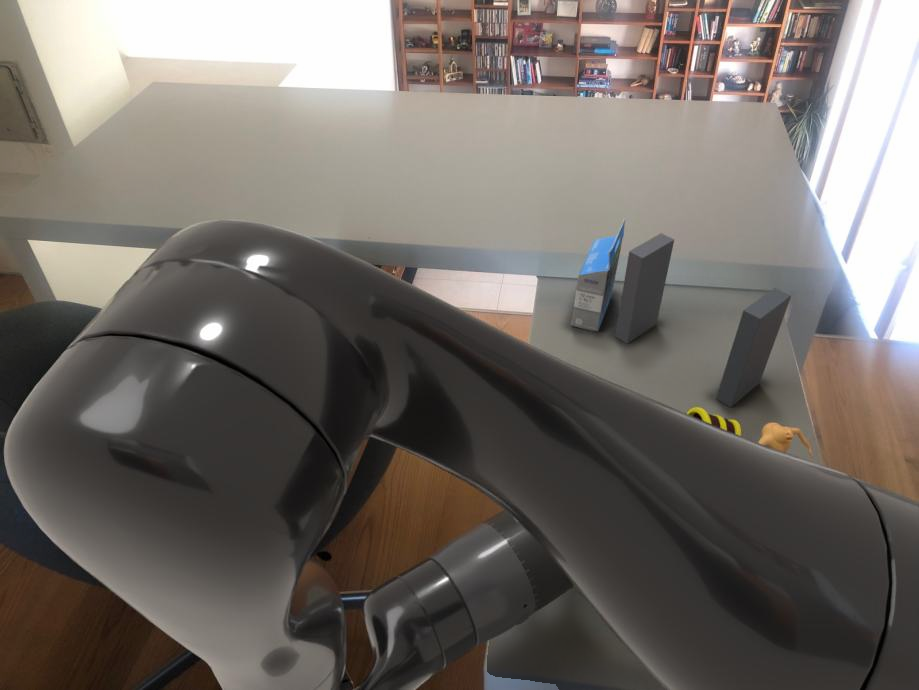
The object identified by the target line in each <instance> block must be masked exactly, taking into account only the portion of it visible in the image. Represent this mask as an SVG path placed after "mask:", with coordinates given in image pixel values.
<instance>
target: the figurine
mask: <svg viewBox="0 0 919 690" xmlns="http://www.w3.org/2000/svg"><path fill="white" fill-rule="evenodd" d="M795 435H797V437H798V438H799V440H800V442H801V444H803V445H804V447H806V448H807V450H808V452H809V456H810V458H811V459H813V452H812V448H811V445H810V443H809V441H808V439H807V438H806V437H805V436H804V434H803V432H802V430H801V429H800V428H798V427H789V426H782V425H780V424H779V423H778V422H768V423H766V424H765V425H764V426H763V428H762V430H761V437H760V439H759V440H758V442H757V443H760V444H763V445H766V446H768V447H771V448H774V449H777V450H779V451H782V452H785V453H787V451H788V450H789V449H790V446H791V443H792V442H793V441H794V436H795Z"/></svg>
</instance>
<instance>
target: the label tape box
mask: <svg viewBox="0 0 919 690" xmlns="http://www.w3.org/2000/svg"><path fill="white" fill-rule="evenodd" d="M625 224H626V218H625V217H623V220H622V223H621V226H620V227H619V230H618V233H617V235H613V236H608V237H600V238H595V239H594V240H593V242H592V244H591V246H590V249H589V251H588V254H587V255H586V258H585V260H584V262H583V265H582V267H581V269H580V271H579V274H578V275H577V283H576V288H575V296H574V302H573V309H572V316H571V323H570V325H571V326H572V327H576V328H580V329H582V330H587V331H592V332H599V330H600V328H601V325H602V323H603V320H604V317H605V314H606V312H607V309H608V306H609V304H610V300H611V297H612V294H613V290H614V285H615V280H616V275H617V270H618V265H619V259H620V255H621V251H622V250H621V249H622V244H623V240H624V239H623V238H624V236H625Z"/></svg>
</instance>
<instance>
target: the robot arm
mask: <svg viewBox="0 0 919 690" xmlns="http://www.w3.org/2000/svg"><path fill="white" fill-rule="evenodd" d="M370 438H372V439H375V440H377V441H380V442H383V443H386V444H388V445H391V446H393V447H395V448H398V449H399V450H402V451H405V452H407V453H409V454H411V455H413V456H415V457H418V458H420V459H422V460H424V461H426V462H427V463H429V464H431V465H433V466H434V467H436V468H439V469H440V470H442V471H444V472H446V473H448V474H449V475H452V476H453V477H456V478H457V479H460V480H461V481H463V482H465V483H467V484H468V485H469V486H471V487H472V488H474V489H476V490H477V491H478V492H480V493H482V494H483V495H485V496H486V497H488V498H489V499H490V500H492V502H494V503H495V504H496V505H498V506H499V507H500V508H502V509H503V510H501V511H499V512H498V513H495V514H494V515H492V516H490V517H489V518H487V519H486V520H484V521H483V520H482V522H480V523H478V524H477V525H475V526H472V528H471V527H470V529H468V530H466V531H463V533H461V534H459V535H458V536H456V537H454V538H452V539H451V540H449V541H448V542H447V543H445V544H444V545H443V546H441V547H440V548H439V549H437V551H435V552H434V553H432V554H431V555H429V556H428V557H427V558H425V559H423V560H421V561H419V562H417V563H416V564H414V565H413V566H411V567H409V568H407V569H406V570H404V571H402V572H401V573H399V574H397V575H395V576H393V577H391V578H389V579H388V580H386V581H384V582H382V583H381V584H379V585H378V586H376V587H375V588H373V589H372V590H371V591H369V593H368V594H367V595H366V596H365V598H364V599H363V603H362V617H363V621H364V626H365V629H366V634H367V636H368V639H369V643H370V646H371V650H372V654H373V655H372V656H373V664H372V666H371V669H370V671H369V672H368V674H367V676H365V678H364V679H363V680H362V681H361V682H360V683H359V684H357V685H356V686H355V684H354V682H353V680H352V677H351V676H350V674H349V672H348V670H347V668H346V667H347V660H348V638H347V637H348V636H347V622H346V613H345V606H344V602H343V598H342V596H341V592H340V590H339V588H338V586H337V584H336V582H335V581H334V579H333V577H332V576H331V574H330V572H328V571H327V570H326V569H325V567H324V566H323V565H322V564H321V563H319V562H318V561H316V559H314V558H313V557H311V556H312V555H313V553H314V551H315V550H316V548H317V547H318V545H319V544H320V542H321V541H322V539H323V538H324V537H325V536H326V534H327V532H328V531H329V529H330V527H331V526H332V524H333V522H334V520H335V518H336V517H337V514H338V512H339V510H340V508H341V506H342V505H341V504H342V502H343V500H344V498H345V495H346V493H347V491H348V489H349V486H350V485H351V483H352V480H353V478H354V475H355V472H356V470H357V468H358V465H359V463H360V461H361V458H362V456H363V454H364V451H365V449H366V447H367V444H368V442H369V440H370ZM3 457H4V459H3V461H4V465H5V470H6V473H7V477H8V480H9V483H10V485H11V487H12V489H13V490H14V493H15V494H16V496H17V498H18V500H19V501H20V503H21V505H22V507H23V508H24V509H25V511H26V512H27V513H28V515H29V516H30V517H31V519H32V520H33V521H34V522H35V524H36V525H37V526H38V528H39V529H40V530H41V531H42V532H43V533H44V534H45V535H46V536H47V537H48V538H49V539H50V540H51V542H52V543H54V544H55V546H56V547H57V548H59V549H60V550H61V551H62V552H63V553H64V554H65V555H66V556H67V557H68V558H69V559H70V560H72V561H73V562H74V563H75V564H77V565H78V566H79V567H81V568H82V569H83V570H84V571H85V572H87V573H88V574H89V575H91V576H92V577H93V578H94V579H96V580H97V581H98V582H99V583H101V584H102V585H103V586H104V587H105V588H107V589H108V590H109V591H110V592H112V593H113V594H114V595H115V596H117V597H118V598H119V599H121V600H122V601H123V602H124V603H126V605H128V606H130V608H132V609H133V610H134V611H136V612H137V613H138V614H140V615H141V617H143V618H145V619H146V620H147V621H148V622H149V623H151V624H153V625H154V626H155V627H157V628H158V629H160V630H161V631H162V632H163V633H165V635H167V636H168V637H170V638H171V639H172V640H174V641H175V642H177V643H178V644H180V645H181V646H182V647H184V648H185V649H187V650H188V651H189V652H191V653H192V654H194V655H195V656H197V657H198V658H200V659H201V660H202V661H203V662H205V664H207V665H208V666H209V667H210V669H211V671H212V673H213V675H214V677H215V678H216V681H217V682H218V684H219V685H220V687H221V689H222V690H417V689H418V688H419V687H420V686H421V685H422V684H424V683H425V682H427V681H428V680H429V679H431V678H432V677H433V676H435V675H436V674H437V673H439V672H441V671H442V670H443V669H445V668H447V667H448V666H449V665H452V663H454V662H456V661H457V660H458V659H460V658H461V657H464V655H467V654H468V653H470V652H471V651H473V650H474V649H475V648H477V647H478V646H481V645H482V644H485V643H486V642H488V641H490V640H493V639H495V638H497V637H499V636H501V635H503V634H505V633H506V632H508V631H509V630H511V629H513V628H514V627H516V626H518V625H522V624H523V623H525V622H526V621H527V620H528V619H529V618H530V617H531V616H532V615H534V614H535V613H538V612H539V611H540V610H541V609H542V608H544V607H546V606H548V605H549V604H550V603H552V602H553V601H555V600H557V599H558V598H559V597H561V596H562V595H564V594H565V593H567V592H568V591H570V590H572V589H573V588H575V589H576V590H577V591H578V592H579V594H580V595H581V596H582V597H583V598H584V600H585V601H586V602H587V603H588V604H589V605H590V607H591V608H592V609H593V610H594V611H595V613H597V615H598V616H599V618H601V620H602V621H603V622H604V623H605V624H606V625H607V627H608V628H609V629H610V630H611V632H612V633H613V634H614V635H615V636H616V638H617V639H618V640H619V641H620V642H621V643H622V645H624V647H625V648H626V649H627V651H629V653H631V655H632V656H633V657H634V658H635V659H636V660H637V661H638V662H639V664H640V665H641V666H642V667H643V668H644V669H645V670H646V671H647V672H648V673H649V675H651V677H653V678H654V680H655V681H657V682H658V684H659V685H661V687H663V688H664V689H665V690H919V501H917V500H915V499H912V498H910V497H907V496H904V495H902V494H900V493H897V492H894V491H892V490H889V489H886V488H884V487H881V486H879V485H877V484H874V483H871V482H868V481H866V480H863V479H861V478H858V477H856V476H854V475H850V474H848V473H845V472H843V471H841V470H838V469H835V468H832V467H829V466H826V465H824V464H820V463H817V462H814V461H811V460H808V459H806V458H803V457H799V456H797V455H793V454H791V453H787V452H782V451H779V450H777V449H774V448H771V447H768V446H766V445H763V444H760V443H758V442H757V441H756V440H752V439H750V438H747V437H744V436H742V435H741V436H740V435H737V434H734V433H732V432H729V431H727V430H724V429H722V428H719V427H717V426H714V425H712V424H710V423H707V422H705V421H703V420H700V419H698V418H695V417H693V416H691V415H688V414H687V412H683V411H681V410H678V409H676V408H674V407H672V406H669V405H667V404H665V403H663V402H660V401H657V400H655V399H653V398H650V397H648V396H645V395H644V394H641V393H638V392H636V391H633V390H631V389H630V388H626V387H624V386H621V385H619V384H616V383H614V382H612V381H609V380H607V379H605V378H602V377H600V376H599V375H596V374H594V373H591V372H589V371H587V370H585V369H582V368H580V367H578V366H575V365H574V364H571V363H569V362H567V361H565V360H563V359H561V358H558V357H556V356H555V355H552V354H551V353H548V352H546V351H544V350H542V349H539V348H538V347H536V346H535V345H531V344H529V343H528V342H526V341H524V340H522V339H520V338H517V337H516V336H514V335H512V334H510V333H508V332H506V331H503V330H502V329H499V328H498V327H496V326H494V325H492V324H490V323H488V322H485V321H484V320H483V319H480V318H478V317H476V316H474V315H472V314H471V313H468V312H466V311H465V310H462V309H460V308H459V307H456V306H455V305H453V304H451V303H449V302H447V301H445V300H443V299H441V298H439V297H438V296H435V295H433V294H431V293H430V292H427V291H426V290H424V289H422V288H420V287H417V286H415V285H414V284H412V283H410V282H407V281H406V280H404V279H403V278H402V279H401V278H400V277H397V276H395V275H393V274H392V273H390V272H387V271H386V270H384V269H382V268H379V267H378V266H375V265H373V264H372V263H369V262H368V261H366V260H364V259H361V258H359V257H357V256H355V255H352V254H350V253H347V252H345V251H343V250H341V249H339V248H337V247H334V246H332V245H330V244H328V243H326V242H323V241H321V240H318V239H316V238H313V237H311V236H308V235H305V234H302V233H300V232H296V231H294V230H292V229H287V228H284V227H281V226H277V225H272V224H269V223H263V222H259V221H258V222H257V221H252V220H247V219H240V218H224V219H209V220H203V221H200V222H197V223H193V224H191V225H187V226H186V227H184V228H182V229H180V230H179V231H176V233H174V234H173V235H171V236H170V237H169V238H167V239H166V240H165V241H164V242H162V243H161V244H160V245H159V246H157V248H156V249H155V250H154V251H153V252H152V253H151V254H149V256H148V257H147V258H146V259H145V260H144V261H143V262H142V264H140V266H139V267H138V268H137V269H136V270H135V272H133V274H132V275H131V276H130V278H128V279H127V280H126V281H125V282H124V283H123V284H122V285H121V286H120V287H119V289H117V291H116V292H115V293H114V294H113V295H112V296H111V298H110V299H108V301H107V302H106V303H105V305H104V306H102V307H101V309H100V310H99V311H98V312H97V313H96V315H95V316H94V317H93V318H92V319H91V320H90V321H89V322H88V324H87V325H86V326H85V327H84V328H83V329H82V331H81V332H80V333H79V334H78V335H77V336H76V337H75V338H74V340H73V341H72V342H71V343H70V344H69V345H68V346H67V347H66V349H65V350H64V351H63V352H62V353H61V354H60V356H59V357H58V358H57V360H56V361H55V362H54V363H53V364H52V365H51V367H50V368H49V369H48V370H47V371H46V373H45V374H44V375H43V376H42V377H41V378H40V380H39V381H38V382H37V383H36V385H34V387H33V389H32V390H31V392H30V393H29V394H28V395H27V397H26V398H25V400H24V401H23V403H22V404H21V406H20V408H19V409H18V411H17V413H16V414H15V415H14V417H13V419H12V421H11V423H10V425H9V427H8V429H7V433H6V436H5V439H4V446H3Z"/></svg>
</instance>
